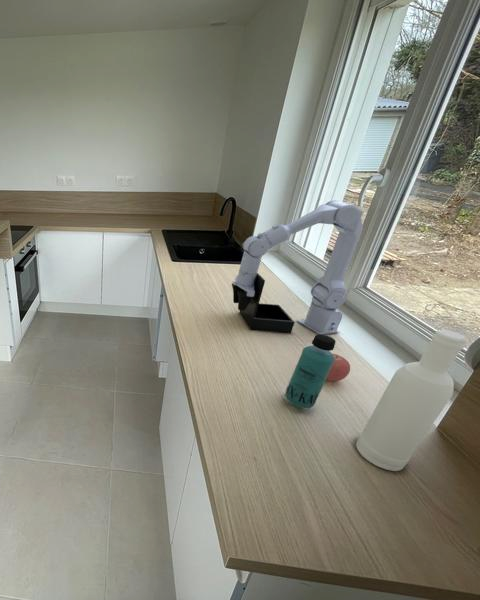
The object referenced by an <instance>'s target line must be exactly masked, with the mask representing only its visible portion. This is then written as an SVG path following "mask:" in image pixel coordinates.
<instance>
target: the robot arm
mask: <svg viewBox="0 0 480 600" xmlns="http://www.w3.org/2000/svg"><path fill="white" fill-rule="evenodd" d="M363 215H364V211H363V210H361V209H360V207H358V206H357V205H355V204H349V203H345V202H341V201H339V200H335V199H334V200H330V201H327V202H326V203H322V204H320V205H319V206H317V207H316V208H315V209H313V210H312V211H310V212H308V213H306V214H304V215H303V216H301V217H299V218H297V219H295V220H293V221H292V222H290V223H288V224H286V225H285V224H278V225H277V224H273V225H272V226H271V227H272V228H270V229H268V230H266V231H264V232H259V233H257V236H256V235H255V236H254V235H252V236H249V237H247V238H246V239H245V241H244V242H242V249H243V250H244V251H243V254H242V258H241V262H240V266H239V269H238V273H237V275H235V278H234V281H232V283H231V287H232V293H233V294H232V295H233V296H232V300H233V303H234V304H237V310H238V311H240V310H241V311H245V309H246V308H247V306H248V304H249V303H250V302H251V301H252V300H253V299H254V298H255V297H256V295H255V291H254V286H255V285H254V283H255V279H256V276H257V273H258V272H259V269H260V265H261V261H262V258H263V256H265V254H267V252H268V251H269V250H270V249H272V248H274V247H276V246H278V245H281V244H282V243H285V242H287V241H289V240H290V238H291V236H292V235H293V234H296V233H299V232H301V231H303V230H306V229H309V228H311V227H313V226H315V225H317V224H325V225H333V226H334V228H335V229H336V230H337V232H338V235H337V237H336V239H335V243H334V246H333V248H332V250H331V254H330V257H329V260H328V262H327V265H326V268H325V271H324V274H323V276H321V277H318V278H317V280H316V282H315V284H314V285H313V286H312V287H311V289H310V295H311V296H312V298H311V302H310V305H309V308H308V311H307V312H306V316H305V318H304V319H299V320H297V322H298V323H299V324H301V325H303V326H304V327H306V328H307V329H309V330H311V331H313V332H314V333H316V334H323V335H327V334H335V333H338V332H339V331H338V328H339V326H340V324H341V321H342V319H343V313H342V312H341V311H340V310H338V308H340V307H341V306H343V304H344V303H345V302H346V295H345V294H346V290H347V288H346V286H345V283H344V278H345V276H346V274H347V271H348V269H349V265H350V263H351V261H352V258H353V255H354V254H355V250H356V248H357V245H358V243H359V241H360V238H361V235H362V232H363V230H364V225H363V220H362V218H363ZM237 292H238V294H237Z"/></svg>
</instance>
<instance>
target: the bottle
mask: <svg viewBox="0 0 480 600" xmlns="http://www.w3.org/2000/svg"><path fill="white" fill-rule="evenodd" d="M467 341H468V338H467V337H466V336H464V335H463V334H462V333H460V332H457V331H454V330H449V329H438V330H437V331H435V332H434V334H433V335H432V336H431V340H430V342H429V344H428V345H427V347H426V349H425V351H424V352H423V354H422V356H421V358H420V359H419V361H413V362H407V363H406V364H404V365H402V366H401V367H399V368H398V369H397V370H396V371H395V372H394V374H393V375H392V377H391V379H390V380H389V382H388V385H387V386H386V388H385V390H384V391H383V393H382V395H381V397H380V399H379V401H378V403H377V404H376V406H375V408H374V410H373V411H372V414H371V415H370V417H369V419H368V421H367V423H366V424H365V426H364V428H363V430H362V431H361V432H360V433H359V435H358V438H357V440H356V443H355V447H356V449H357V451H358V452H359V454H360V455H361V456H362V457H363V458H365V460H367V462H369V463H371V464H373V465H374V466H376V467H379V468H381V469H384V470H386V471H392V472H398V471H402V470H403V469H404V468H405V466H406V465H407V464H408V463H409V462H410V460H411V457H412V456H413V454H414V453H415V451H416V450H417V448H418V447H419V445H420V444H421V443H422V441H423V440H424V439H425V436H426V435H427V433H428V432H429V430H430V429H431V427H432V426H433V424H434V423H435V422H436V420H437V419H438V417H439V416H440V415H441V413H442V411H443V410H444V409H445V407H446V405H447V404H448V402H449V401H450V400H451V398H452V396H453V395H454V387H455V383H454V379H453V378H452V377H451V375H450V374H449V372H448V371H449V369H450V368H451V366H452V364H453V363H454V361H455V360H456V358H457V357H458V355H459V353H460V352H461V350H463V349H464V348H465V347H466V343H467Z"/></svg>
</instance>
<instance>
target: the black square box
mask: <svg viewBox="0 0 480 600" xmlns="http://www.w3.org/2000/svg"><path fill="white" fill-rule="evenodd" d="M238 314H239V315H240V316H241V318H242V320H243V321H244V323H245V324H246V325H247V328H248V329H249V331H253V332H267V333H268V332H269V333H278V334H292V331H293V329H294V325H295V323H296V321H295V320H294V319H293V318H292V317H291V316H290V315H289V314H288V312H286V311H285V309H283V307H282V306H281V305H279V304H274V303H273V304H272V303H262V302H261V303H260V302H259V305H258V309H257V312H256V316H255V318H253V317H252V315H251V314H250V313H249V311H248V310H247V308H246V309H245V311H241V310H239V313H238Z"/></svg>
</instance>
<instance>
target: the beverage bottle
mask: <svg viewBox="0 0 480 600" xmlns="http://www.w3.org/2000/svg"><path fill="white" fill-rule="evenodd" d="M311 344H312V345H308V346H305V347H304V348H303V349H302V352H301V353H300V357H299V359H298V361H297V364H296V365H295V368H294V370H293V372H292V374H291V377H290V380H289V382H288V384H287V387H286V390H285V393H284V394H285V399H286V400H287V401H288V402H289V403H290V404H292V405H293V406H296V407H297V408H300V409H306V410H307V409H308V410H309V409H312V408H313V407H315V405H316V403H317V401H318V398H319V397H320V395H321V392H322V390H323V388H324V386H325V382H326V381H327V379H326V378H327V375H328V373H329V371H330V369H331V367H332V364H333V362H334V361H335V358H334V356H333V354H334V353H332V352H331V351H333V350H334V349H335V345H336V340H335V338H333V337H332V336H330V335H327V334H318V333H316V334H315V336H314V337H313V339H312V341H311Z"/></svg>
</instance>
